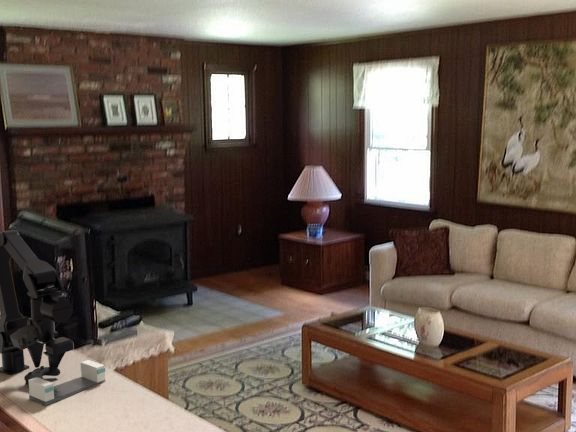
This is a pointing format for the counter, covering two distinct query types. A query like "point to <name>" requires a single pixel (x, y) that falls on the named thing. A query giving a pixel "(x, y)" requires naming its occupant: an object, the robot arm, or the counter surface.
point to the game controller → (40, 373)
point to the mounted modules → (46, 389)
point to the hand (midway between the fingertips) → (44, 370)
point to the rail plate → (68, 389)
